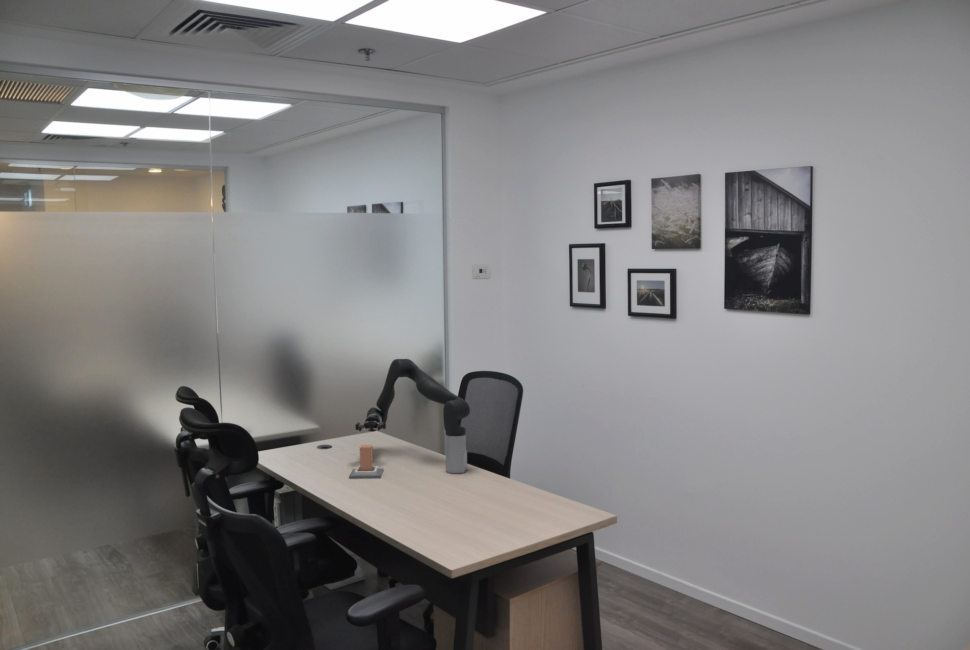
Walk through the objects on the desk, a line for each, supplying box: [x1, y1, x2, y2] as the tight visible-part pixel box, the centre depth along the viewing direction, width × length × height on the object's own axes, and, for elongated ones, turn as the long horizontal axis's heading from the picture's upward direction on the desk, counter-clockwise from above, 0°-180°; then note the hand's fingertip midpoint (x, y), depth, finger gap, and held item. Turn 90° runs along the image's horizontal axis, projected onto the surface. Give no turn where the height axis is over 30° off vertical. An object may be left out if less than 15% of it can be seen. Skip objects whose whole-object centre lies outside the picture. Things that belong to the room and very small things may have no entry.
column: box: [359, 444, 374, 471], centre depth 330 cm, size 5×5×12 cm
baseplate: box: [348, 465, 384, 480], centre depth 330 cm, size 14×12×3 cm
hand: (369, 428), depth 340 cm, fingers open, 8 cm apart
